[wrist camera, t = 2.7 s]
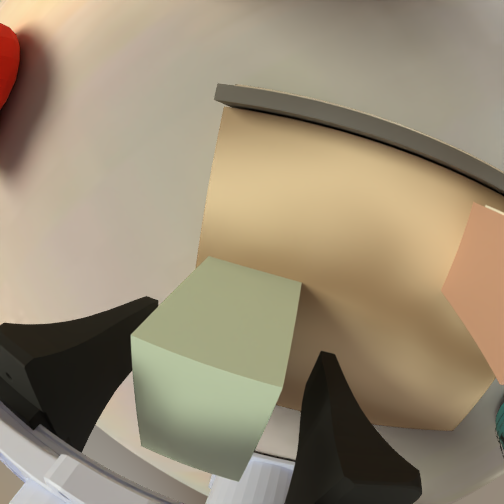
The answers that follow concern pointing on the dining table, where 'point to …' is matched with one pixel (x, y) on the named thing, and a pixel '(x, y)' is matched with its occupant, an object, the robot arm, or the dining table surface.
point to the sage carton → (213, 365)
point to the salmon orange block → (481, 283)
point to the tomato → (8, 61)
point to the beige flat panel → (354, 246)
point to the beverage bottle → (500, 426)
